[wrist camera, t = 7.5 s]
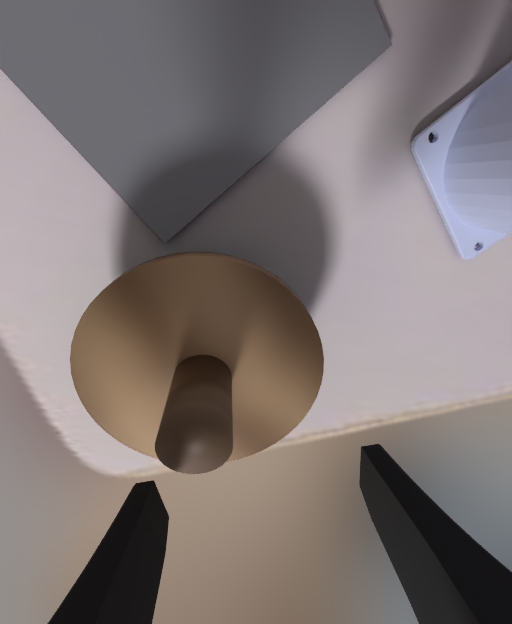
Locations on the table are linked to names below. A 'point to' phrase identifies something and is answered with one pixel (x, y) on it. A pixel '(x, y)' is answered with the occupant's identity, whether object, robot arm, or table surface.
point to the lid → (197, 360)
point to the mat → (182, 85)
